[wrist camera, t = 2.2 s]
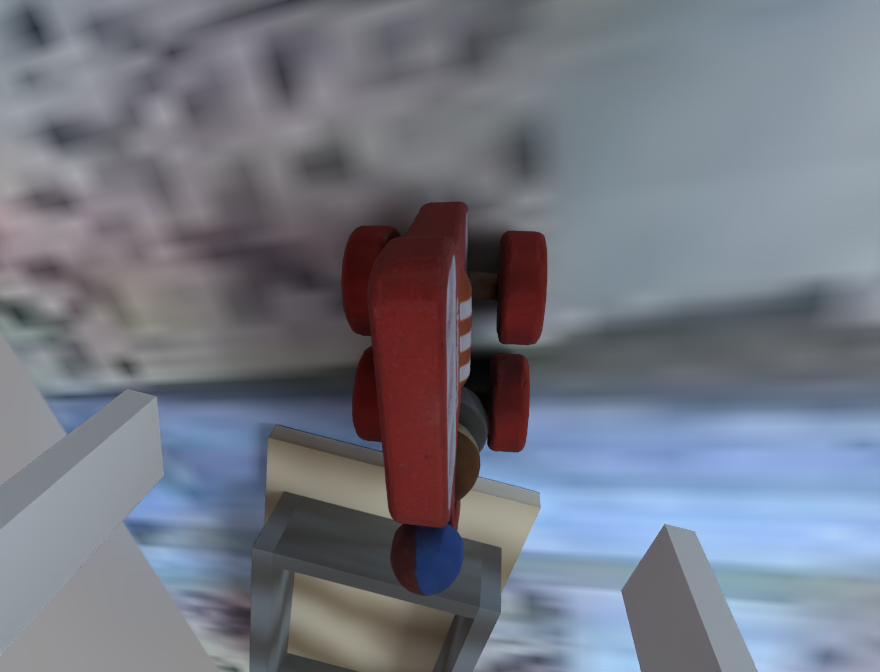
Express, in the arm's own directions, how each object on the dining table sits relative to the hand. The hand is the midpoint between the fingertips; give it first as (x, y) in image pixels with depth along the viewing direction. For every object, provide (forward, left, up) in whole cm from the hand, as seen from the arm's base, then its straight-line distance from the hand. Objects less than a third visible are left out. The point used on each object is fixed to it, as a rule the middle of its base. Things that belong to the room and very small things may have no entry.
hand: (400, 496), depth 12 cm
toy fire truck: (0, 0, -10) cm, 10 cm away
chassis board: (+20, 0, -9) cm, 22 cm away
